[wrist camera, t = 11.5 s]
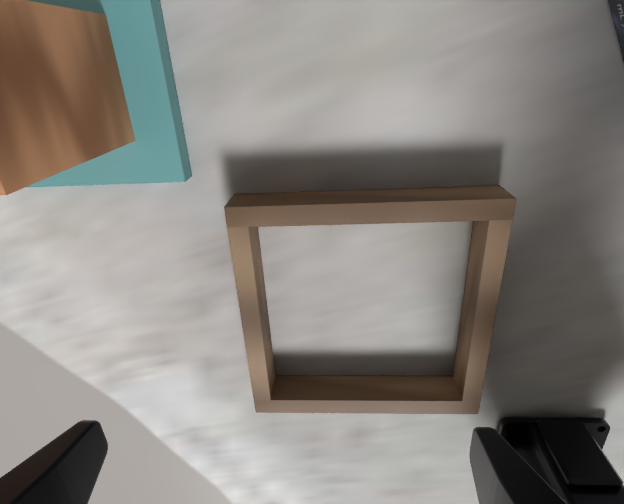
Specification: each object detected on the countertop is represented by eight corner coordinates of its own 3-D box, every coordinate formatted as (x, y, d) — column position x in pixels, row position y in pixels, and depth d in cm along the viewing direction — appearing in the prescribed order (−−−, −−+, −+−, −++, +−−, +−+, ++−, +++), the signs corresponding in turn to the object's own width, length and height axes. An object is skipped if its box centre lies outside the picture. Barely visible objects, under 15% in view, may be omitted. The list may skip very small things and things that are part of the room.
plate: (191, 176, 20) (185, 181, 19) (21, 182, 21) (7, 187, 20) (151, -45, 16) (140, -51, 15) (-58, -29, 17) (-80, -33, 16)
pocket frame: (467, 388, 25) (477, 414, 23) (261, 387, 26) (255, 412, 24) (499, 185, 19) (516, 198, 18) (234, 194, 20) (224, 207, 18)
